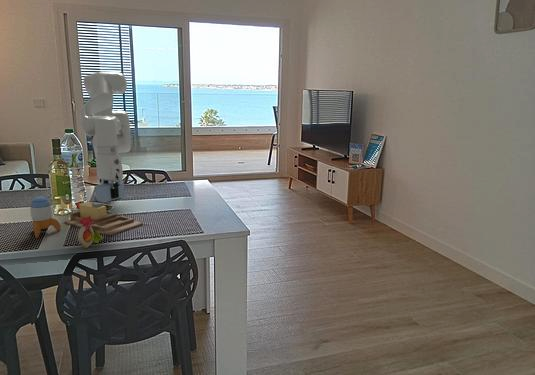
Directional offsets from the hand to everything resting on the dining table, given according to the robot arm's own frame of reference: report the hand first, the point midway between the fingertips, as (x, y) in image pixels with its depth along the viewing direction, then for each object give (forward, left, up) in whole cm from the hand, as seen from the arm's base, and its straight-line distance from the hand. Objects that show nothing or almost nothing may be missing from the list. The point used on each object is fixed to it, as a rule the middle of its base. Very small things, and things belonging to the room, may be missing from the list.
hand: (111, 196), depth 165 cm
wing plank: (0, 0, -1) cm, 1 cm away
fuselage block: (-12, 0, -11) cm, 17 cm away
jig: (-6, 0, -12) cm, 14 cm away
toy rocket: (-17, -19, -12) cm, 28 cm away
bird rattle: (+10, -18, -12) cm, 24 cm away
